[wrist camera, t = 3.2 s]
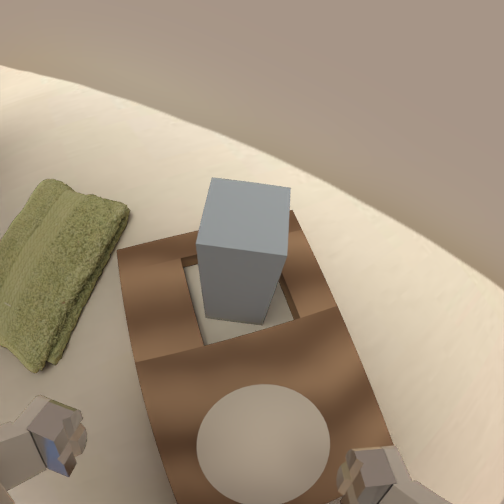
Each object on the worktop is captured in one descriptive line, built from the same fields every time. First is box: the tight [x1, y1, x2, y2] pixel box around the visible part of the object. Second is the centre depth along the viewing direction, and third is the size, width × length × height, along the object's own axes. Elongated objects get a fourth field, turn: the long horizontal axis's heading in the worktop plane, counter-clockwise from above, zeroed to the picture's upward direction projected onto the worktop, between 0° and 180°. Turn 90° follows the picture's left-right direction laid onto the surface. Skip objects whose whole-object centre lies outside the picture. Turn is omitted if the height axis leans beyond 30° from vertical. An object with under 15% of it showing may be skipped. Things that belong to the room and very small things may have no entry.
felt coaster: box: [197, 384, 330, 504], centre depth 19 cm, size 9×9×1 cm
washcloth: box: [0, 179, 130, 373], centre depth 25 cm, size 13×18×3 cm
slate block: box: [196, 178, 290, 325], centre depth 22 cm, size 4×4×11 cm
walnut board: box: [117, 210, 394, 504], centre depth 23 cm, size 24×16×2 cm, turn 18°
